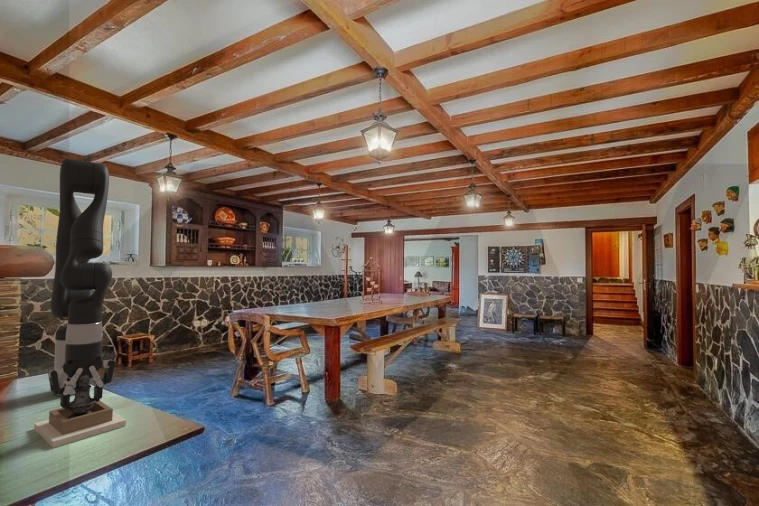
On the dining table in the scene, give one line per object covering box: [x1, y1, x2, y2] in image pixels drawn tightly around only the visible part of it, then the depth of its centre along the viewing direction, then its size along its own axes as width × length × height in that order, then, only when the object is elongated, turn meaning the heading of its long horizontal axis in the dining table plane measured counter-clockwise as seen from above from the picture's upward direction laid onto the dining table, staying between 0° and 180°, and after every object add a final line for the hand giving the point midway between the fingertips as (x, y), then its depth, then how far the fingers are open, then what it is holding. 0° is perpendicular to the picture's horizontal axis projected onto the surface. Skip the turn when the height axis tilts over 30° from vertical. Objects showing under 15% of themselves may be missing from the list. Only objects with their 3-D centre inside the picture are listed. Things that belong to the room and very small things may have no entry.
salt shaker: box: [68, 375, 96, 419], centre depth 98 cm, size 6×6×12 cm
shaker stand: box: [33, 400, 127, 449], centre depth 98 cm, size 15×15×4 cm
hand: (81, 404), depth 98 cm, fingers closed on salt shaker, 6 cm apart
